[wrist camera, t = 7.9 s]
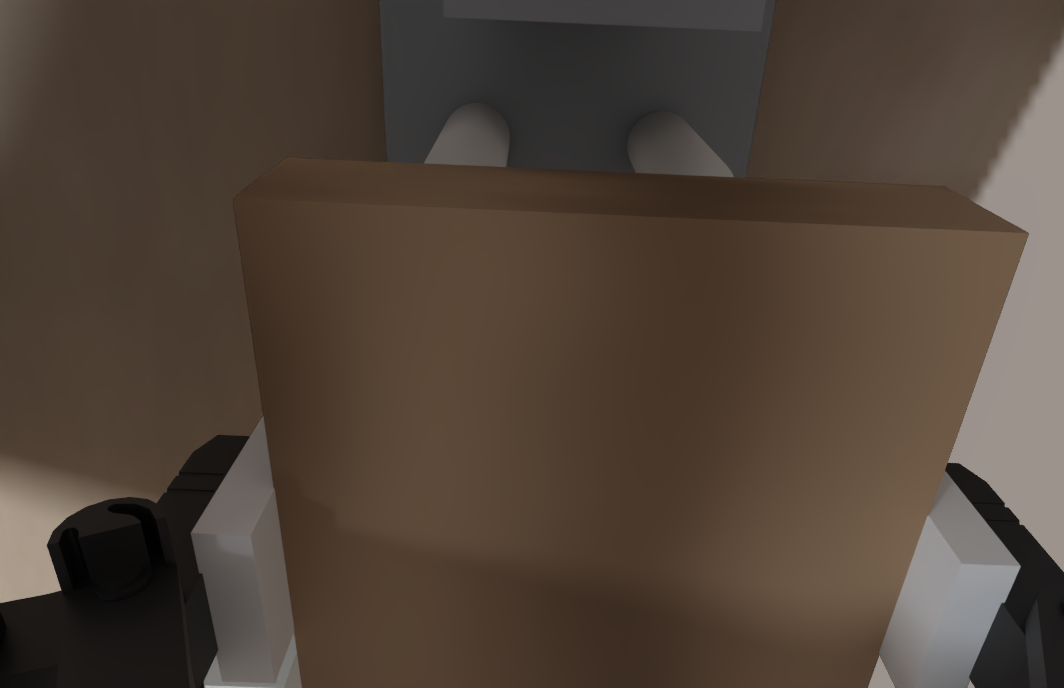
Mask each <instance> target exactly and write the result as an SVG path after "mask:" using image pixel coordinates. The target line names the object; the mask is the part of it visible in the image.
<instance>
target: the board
mask: <svg viewBox="0 0 1064 688" xmlns="http://www.w3.org/2000/svg"><path fill="white" fill-rule="evenodd" d="M233 205H234V212H235V219H236V226H237V233H238V240H239V248H240V255H241V262H242V269H243V276H244V283H245V290H246V297H247V304H248V311H249V318H250V325H251V332H252V339H253V346H254V353H255V360H256V368H257V375H258V382H259V389H260V396H261V403H262V410H263V417H264V424H265V431H266V438H267V445H268V452H269V459H270V466H271V473H272V480H273V488H275V495H276V502H277V509H278V516H279V523H280V530H281V538H282V545H283V552H284V559H285V566H286V573H287V580H288V587H289V594H290V601H291V608H292V616H293V623H294V630H295V631H294V636H295V643H296V650H297V657H298V664H299V671H300V678H301V685H302V688H868V685H869V682H870V680H871V677H872V674H873V671H874V668H875V666H876V663H877V660H878V657H879V651H880V648H881V646H882V643H883V640H884V637H885V634H886V631H887V629H888V626H889V623H890V620H891V617H892V615H893V612H894V609H895V606H896V603H897V600H898V598H899V595H900V592H901V589H902V586H903V584H904V581H905V578H906V575H907V572H908V569H909V567H910V564H911V561H912V558H913V555H914V552H915V550H916V547H917V544H918V541H919V538H920V536H921V533H922V530H923V527H924V524H925V521H926V519H927V516H928V515H929V514H930V511H931V508H932V505H933V502H934V500H935V497H936V494H937V491H938V488H939V486H940V483H941V480H942V477H943V474H944V471H945V469H946V466H947V463H948V460H949V457H950V454H951V452H952V449H953V446H954V443H955V441H956V438H957V435H958V432H959V429H960V426H961V424H962V421H963V418H964V415H965V412H966V410H967V407H968V404H969V401H970V398H971V395H972V393H973V390H974V387H975V384H976V381H977V379H978V376H979V373H980V370H981V367H982V365H983V362H984V359H985V356H986V353H987V350H988V348H989V345H990V342H991V339H992V336H993V334H994V331H995V328H996V325H997V322H998V319H999V317H1000V314H1001V311H1002V308H1003V305H1004V302H1005V299H1006V297H1007V294H1008V291H1009V289H1010V286H1011V283H1012V280H1013V277H1014V274H1015V272H1016V269H1017V266H1018V263H1019V260H1020V258H1021V255H1022V252H1023V249H1024V246H1025V244H1026V241H1027V238H1028V235H1029V233H1028V232H1026V231H1024V230H1022V229H1021V228H1019V227H1017V226H1015V225H1013V224H1011V223H1010V222H1008V221H1006V220H1004V219H1002V218H1001V217H999V216H997V215H995V214H994V213H992V212H990V211H988V210H986V209H984V208H983V207H981V206H979V205H977V204H975V203H974V202H972V201H970V200H968V199H966V198H965V197H963V196H961V195H959V194H957V193H956V192H954V191H952V190H950V189H948V188H947V187H945V186H922V185H900V184H877V183H854V182H832V181H809V180H787V179H764V178H741V177H719V176H696V175H674V174H651V173H628V172H606V171H583V170H560V169H538V168H515V167H493V166H470V165H447V164H425V163H402V162H380V161H357V160H334V159H312V158H289V157H286V158H285V159H284V160H282V161H281V162H280V163H279V164H277V165H276V166H275V167H273V168H272V169H271V170H269V171H268V172H267V173H265V174H264V175H263V176H261V177H260V178H259V179H257V180H256V181H255V182H253V183H252V184H251V185H250V186H248V187H247V188H246V189H244V190H243V191H242V192H240V193H239V194H238V195H236V196H235V197H234V198H233Z"/></svg>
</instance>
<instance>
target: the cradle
mask: <svg viewBox="0 0 1064 688" xmlns="http://www.w3.org/2000/svg"><path fill="white" fill-rule="evenodd" d="M775 5H776V0H379V7H380V29H381V50H382V72H383V93H384V114H385V136H386V157H387V162H402V163H425V164H447V165H470V166H493V167H515V168H538V169H560V170H583V171H606V172H628V173H651V174H674V175H696V176H719V177H741V178H746V173H747V167H748V161H749V156H750V150H751V144H752V138H753V133H754V127H755V121H756V115H757V109H758V104H759V98H760V92H761V86H762V80H763V75H764V69H765V63H766V57H767V51H768V46H769V40H770V34H771V28H772V22H773V17H774V11H775Z"/></svg>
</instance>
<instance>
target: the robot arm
mask: <svg viewBox="0 0 1064 688" xmlns="http://www.w3.org/2000/svg"><path fill="white" fill-rule="evenodd" d="M1004 505H1005V503H1004V502H1003V501H1002V500H1001V499H1000V497H999V496H998V495H997V494H996V493H995V491H993V489H992V488H991V487H990V486H989V484H987V482H985V481H984V480H983V479H981V478H980V477H978V476H977V475H975V474H974V473H972V472H971V471H969V470H968V469H966V468H965V467H963V466H962V465H961V464H959V463H947V466H946V469H945V471H944V474H943V477H942V480H941V483H940V486H939V488H938V491H937V494H936V497H935V500H934V502H933V505H932V508H931V511H930V514H929V515H928V516H927V519H926V521H925V524H924V527H923V530H922V533H921V536H920V538H919V541H918V544H917V547H916V550H915V552H914V555H913V558H912V561H911V564H910V567H909V569H908V572H907V575H906V578H905V581H904V584H903V586H902V589H901V592H900V595H899V598H898V600H897V603H896V606H895V609H894V612H893V615H892V617H891V620H890V623H889V626H888V629H887V631H886V634H885V637H884V640H883V643H882V646H881V648H880V651H879V655H880V657H881V659H882V661H883V663H884V665H885V667H886V669H887V671H888V673H889V675H890V677H891V679H892V682H893V683H894V686H895V688H967V687H968V685H969V682H970V680H971V682H972V683H973V685H974V686H975V688H1064V572H1063V571H1062V570H1061V569H1060V567H1059V566H1058V565H1057V564H1056V563H1055V562H1054V560H1053V559H1052V558H1051V557H1050V556H1049V555H1048V553H1047V552H1046V551H1045V550H1044V549H1043V548H1042V546H1041V545H1040V544H1039V543H1038V542H1037V540H1036V539H1035V538H1034V537H1033V536H1032V535H1031V533H1030V532H1029V531H1028V530H1027V529H1026V528H1025V526H1023V525H1020V524H1019V519H1018V518H1017V517H1016V516H1015V515H1014V514H1013V513H1012V511H1011V510H1010V509H1009V508H1007V507H1005V506H1004ZM47 547H48V550H49V553H50V556H51V559H52V562H53V565H54V569H55V572H56V575H57V578H58V581H59V584H60V587H61V590H62V591H58V592H54V593H50V594H46V595H41V596H36V597H30V598H25V599H20V600H15V601H9V602H4V603H0V688H205V686H204V680H205V678H206V675H207V673H208V671H209V669H210V667H211V665H212V663H213V661H214V658H215V656H217V660H218V665H219V670H220V675H221V679H222V681H224V682H251V683H275V682H276V679H277V677H278V674H279V671H280V669H281V666H282V663H283V661H284V658H285V655H286V652H287V650H288V647H289V644H290V642H291V639H292V636H293V634H294V631H295V630H294V623H293V616H292V608H291V601H290V594H289V587H288V580H287V573H286V566H285V559H284V552H283V545H282V538H281V530H280V523H279V516H278V509H277V502H276V495H275V488H273V480H272V473H271V466H270V459H269V452H268V445H267V438H266V431H265V424H264V417H263V416H262V418H261V420H260V421H259V423H258V425H257V426H256V428H255V429H254V431H253V433H252V434H251V436H230V435H217V436H216V437H214V438H213V439H211V440H210V441H208V442H207V443H206V444H204V445H203V446H201V447H200V448H198V449H197V450H195V451H194V452H193V453H192V455H191V456H190V457H189V459H188V460H187V462H186V463H185V464H184V466H183V467H182V469H181V470H180V471H179V476H176V477H175V478H174V480H173V481H172V483H171V484H170V485H169V487H168V488H167V493H164V494H163V495H162V497H161V498H160V499H159V501H158V502H157V504H156V503H154V502H152V501H150V500H149V499H142V498H134V497H126V498H118V499H109V500H106V501H103V502H100V503H97V504H94V505H90V506H87V507H85V508H83V509H82V510H80V511H78V512H76V513H75V514H73V515H71V516H69V517H67V518H66V519H65V520H64V521H63V522H62V523H61V524H60V525H59V526H58V527H57V528H56V529H55V530H54V531H53V532H52V535H51V537H50V539H49V541H48V544H47Z"/></svg>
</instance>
